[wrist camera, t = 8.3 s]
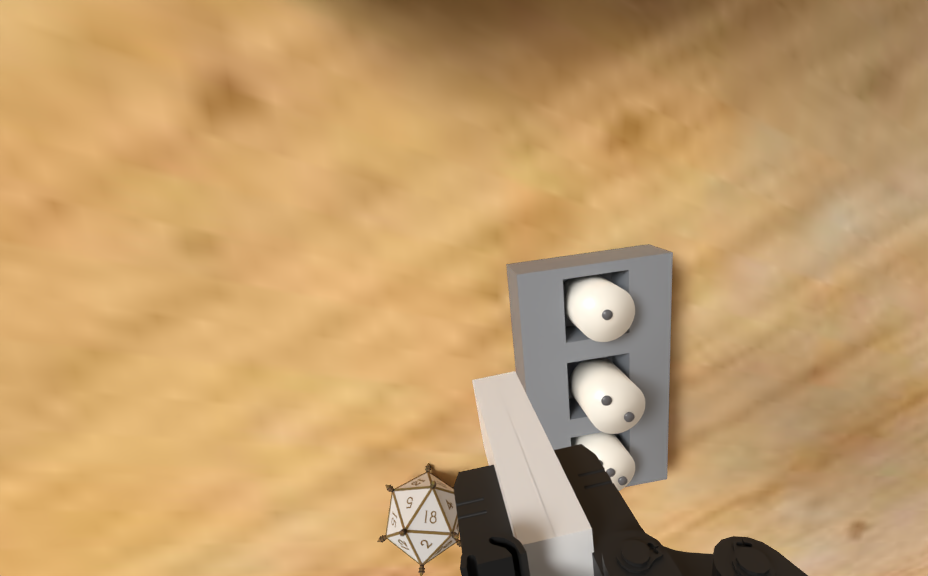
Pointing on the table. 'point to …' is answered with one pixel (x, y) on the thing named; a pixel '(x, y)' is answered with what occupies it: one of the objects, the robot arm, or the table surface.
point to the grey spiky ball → (422, 518)
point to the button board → (596, 346)
